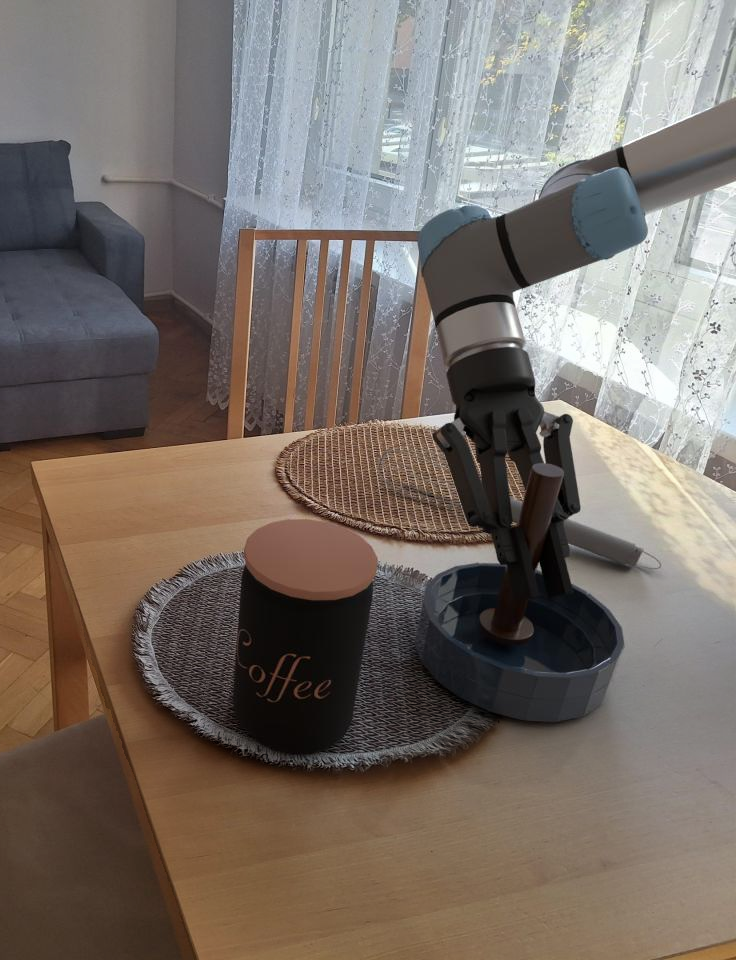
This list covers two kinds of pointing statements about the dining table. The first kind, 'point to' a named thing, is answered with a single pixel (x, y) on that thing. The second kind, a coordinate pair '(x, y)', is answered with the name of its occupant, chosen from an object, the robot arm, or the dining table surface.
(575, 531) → the kitchen whisk
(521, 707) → the bowl
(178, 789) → the dining table surface
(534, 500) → the stirring stick
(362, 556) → the coffee jar
